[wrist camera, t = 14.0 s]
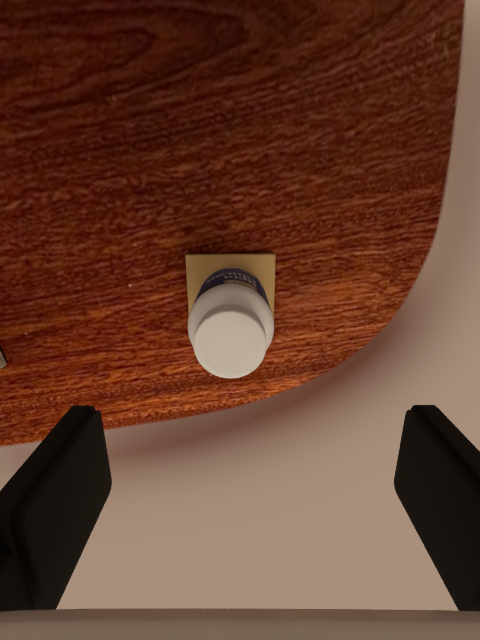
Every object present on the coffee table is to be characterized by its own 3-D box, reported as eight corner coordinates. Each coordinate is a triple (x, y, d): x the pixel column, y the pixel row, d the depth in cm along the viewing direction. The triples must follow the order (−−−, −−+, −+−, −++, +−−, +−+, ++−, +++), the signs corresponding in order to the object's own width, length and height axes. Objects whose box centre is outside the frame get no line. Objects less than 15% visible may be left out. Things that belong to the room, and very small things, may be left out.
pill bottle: (259, 259, 26) (272, 288, 17) (270, 323, 28) (288, 381, 19) (191, 272, 27) (168, 309, 18) (207, 335, 28) (193, 398, 19)
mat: (274, 253, 27) (275, 254, 26) (272, 335, 29) (273, 338, 29) (186, 254, 27) (185, 255, 26) (191, 336, 29) (190, 339, 29)
